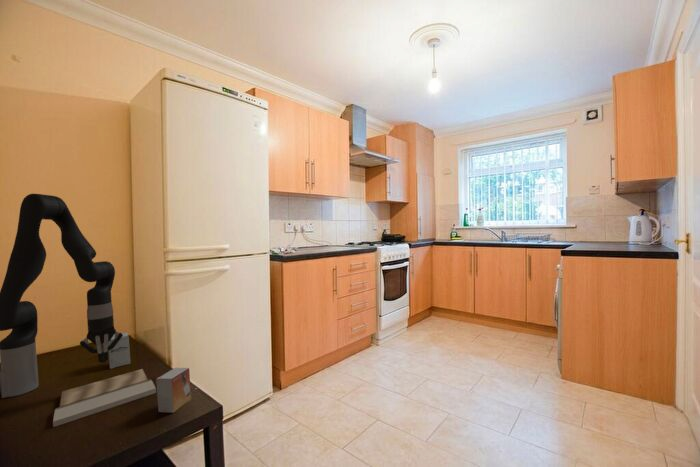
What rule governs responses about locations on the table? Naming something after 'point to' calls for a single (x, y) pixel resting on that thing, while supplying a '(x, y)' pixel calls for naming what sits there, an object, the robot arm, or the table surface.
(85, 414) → the grey board
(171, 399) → the small box
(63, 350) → the table surface
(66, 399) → the oak plank
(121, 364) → the supplement box
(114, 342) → the robot arm
